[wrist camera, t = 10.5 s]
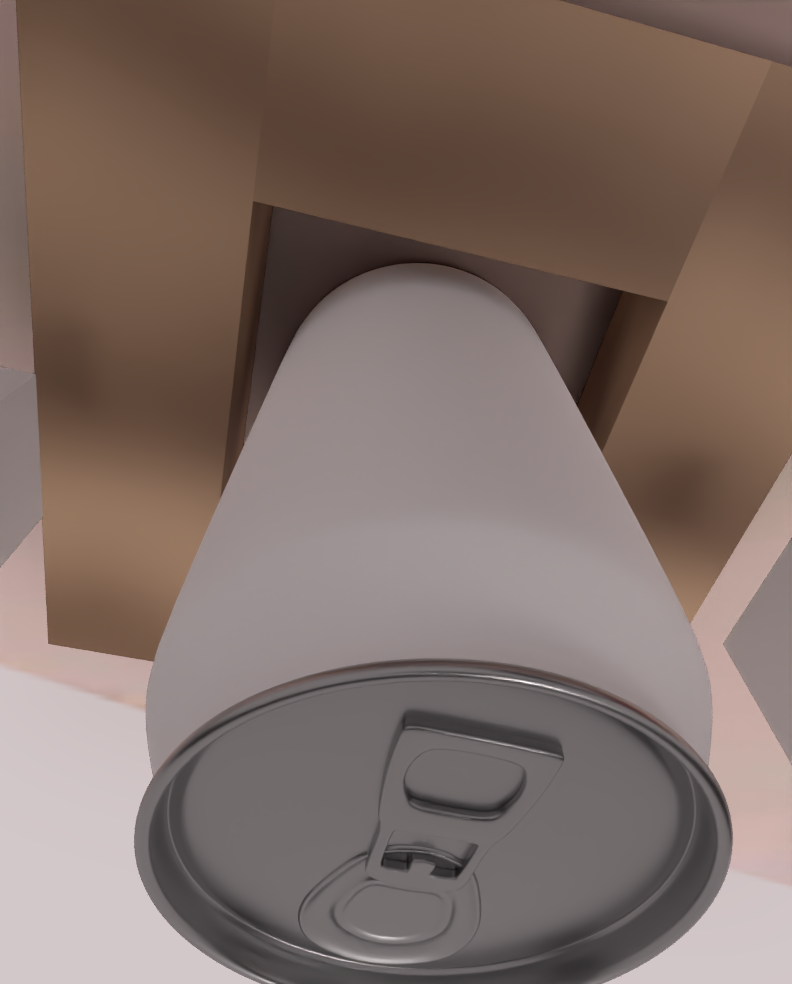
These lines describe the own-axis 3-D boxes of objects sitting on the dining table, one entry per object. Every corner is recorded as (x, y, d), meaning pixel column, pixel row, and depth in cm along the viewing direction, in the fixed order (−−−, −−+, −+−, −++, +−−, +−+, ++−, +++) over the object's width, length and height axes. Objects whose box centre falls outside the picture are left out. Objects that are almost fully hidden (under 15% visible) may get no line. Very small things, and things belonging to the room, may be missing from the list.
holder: (79, -116, 12) (7, -159, 10) (897, 117, 14) (989, 123, 11) (86, 583, 20) (48, 644, 18) (598, 674, 22) (620, 739, 19)
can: (263, 471, 18) (73, 990, 8) (313, 221, 15) (100, 537, 4) (494, 526, 19) (602, 1062, 8) (589, 301, 16) (952, 725, 5)
